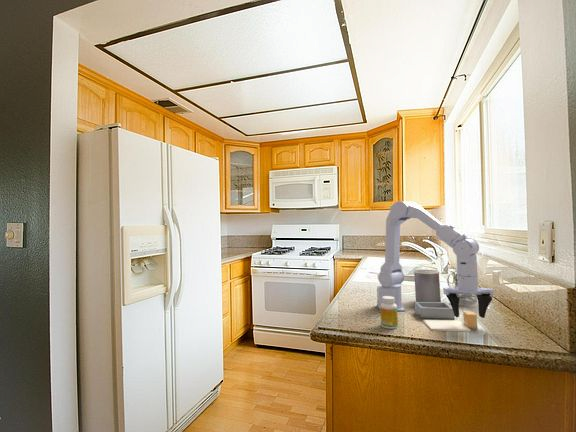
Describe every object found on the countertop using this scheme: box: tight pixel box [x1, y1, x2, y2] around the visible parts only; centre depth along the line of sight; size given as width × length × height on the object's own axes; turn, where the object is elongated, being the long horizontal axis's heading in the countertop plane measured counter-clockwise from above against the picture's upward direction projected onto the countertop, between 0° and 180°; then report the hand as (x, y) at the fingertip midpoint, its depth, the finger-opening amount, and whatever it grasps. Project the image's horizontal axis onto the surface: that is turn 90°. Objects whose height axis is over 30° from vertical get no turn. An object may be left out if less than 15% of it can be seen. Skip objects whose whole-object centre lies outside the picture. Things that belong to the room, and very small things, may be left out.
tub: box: [414, 301, 456, 320], centre depth 105 cm, size 11×8×4 cm
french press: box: [446, 267, 479, 307], centre depth 121 cm, size 10×12×25 cm
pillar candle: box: [413, 268, 442, 302], centre depth 121 cm, size 10×10×15 cm
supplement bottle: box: [379, 296, 399, 330], centre depth 96 cm, size 5×5×10 cm
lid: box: [422, 311, 478, 333], centre depth 94 cm, size 15×9×4 cm, turn 81°
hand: (469, 316), depth 93 cm, fingers open, 7 cm apart
